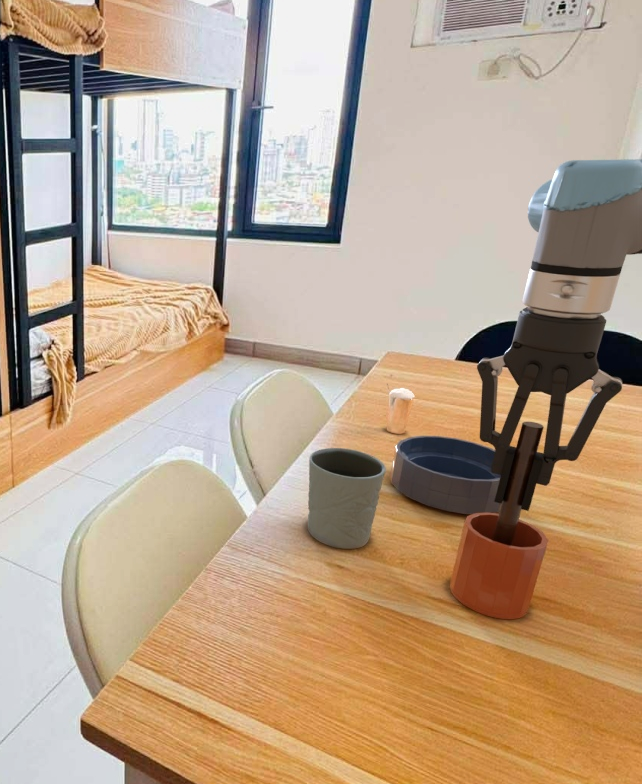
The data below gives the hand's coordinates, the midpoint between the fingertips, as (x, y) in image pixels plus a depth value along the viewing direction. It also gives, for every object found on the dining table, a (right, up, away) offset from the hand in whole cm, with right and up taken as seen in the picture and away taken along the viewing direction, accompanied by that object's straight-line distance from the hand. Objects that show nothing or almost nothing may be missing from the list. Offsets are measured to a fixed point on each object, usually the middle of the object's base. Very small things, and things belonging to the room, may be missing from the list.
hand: (512, 501), depth 76 cm
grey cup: (-13, -8, +19) cm, 25 cm away
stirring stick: (0, -11, +4) cm, 12 cm away
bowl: (+11, -4, +31) cm, 33 cm away
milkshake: (+15, +5, +55) cm, 57 cm away
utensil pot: (0, -13, +5) cm, 14 cm away
